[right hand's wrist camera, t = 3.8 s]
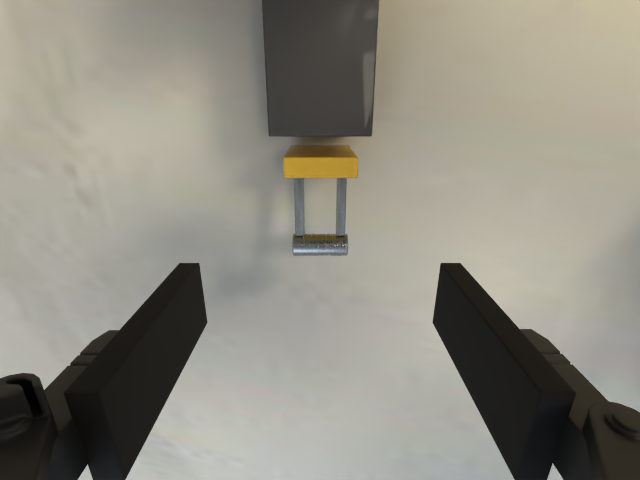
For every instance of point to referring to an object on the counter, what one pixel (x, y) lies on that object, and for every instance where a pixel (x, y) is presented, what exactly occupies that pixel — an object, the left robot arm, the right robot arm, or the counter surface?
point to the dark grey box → (320, 66)
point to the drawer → (301, 166)
